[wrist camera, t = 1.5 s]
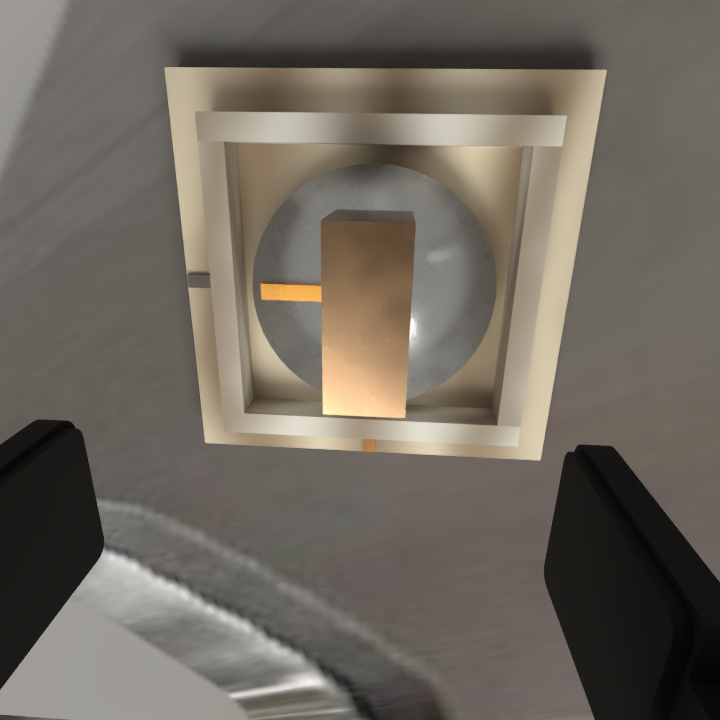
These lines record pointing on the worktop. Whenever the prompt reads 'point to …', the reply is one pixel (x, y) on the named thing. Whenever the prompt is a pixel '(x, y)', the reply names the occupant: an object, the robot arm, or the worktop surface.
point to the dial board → (401, 148)
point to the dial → (374, 286)
